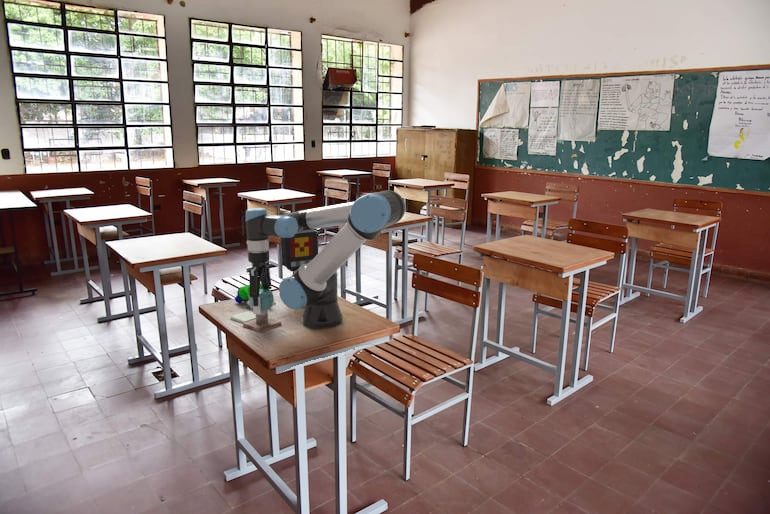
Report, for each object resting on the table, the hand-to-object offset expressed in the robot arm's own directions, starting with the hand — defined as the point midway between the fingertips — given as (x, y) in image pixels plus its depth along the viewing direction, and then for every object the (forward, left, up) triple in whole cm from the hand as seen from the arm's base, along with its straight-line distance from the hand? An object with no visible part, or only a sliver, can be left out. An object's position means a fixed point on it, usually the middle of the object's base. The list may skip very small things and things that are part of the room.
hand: (261, 309), depth 201 cm
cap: (0, 0, +2) cm, 2 cm away
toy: (+23, -13, -7) cm, 28 cm away
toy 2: (+12, -31, -6) cm, 34 cm away
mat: (+11, -1, -6) cm, 13 cm away
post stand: (0, 0, -6) cm, 6 cm away
